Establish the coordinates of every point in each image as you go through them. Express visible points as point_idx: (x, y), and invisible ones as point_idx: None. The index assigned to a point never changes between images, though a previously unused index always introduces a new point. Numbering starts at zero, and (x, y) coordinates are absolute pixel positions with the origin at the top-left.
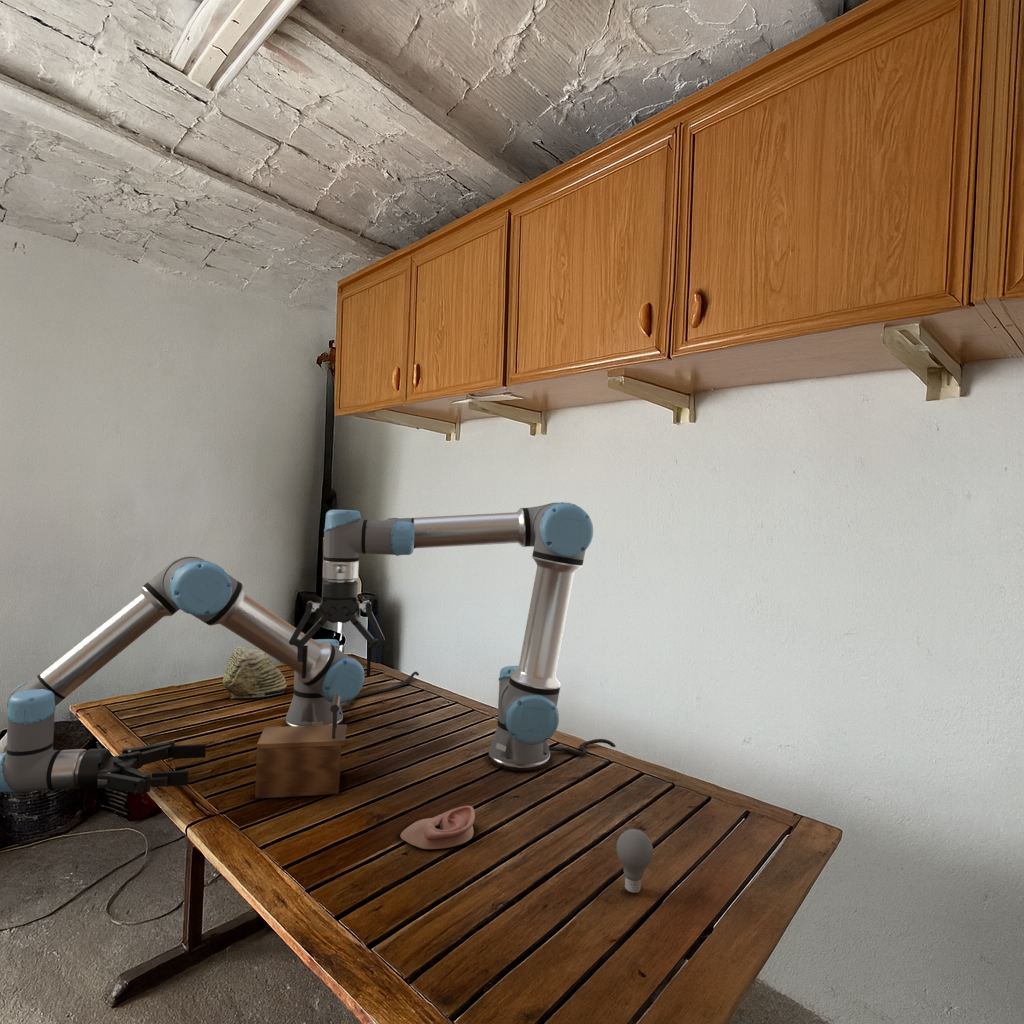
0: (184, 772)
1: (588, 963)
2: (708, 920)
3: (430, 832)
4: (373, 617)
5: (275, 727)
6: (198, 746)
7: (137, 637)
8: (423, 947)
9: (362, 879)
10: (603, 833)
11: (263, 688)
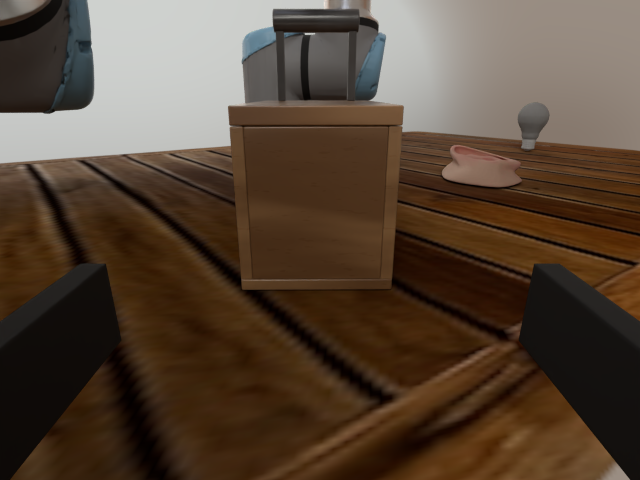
0: (571, 273)
1: (635, 160)
2: (544, 146)
3: (516, 161)
4: None
5: (244, 104)
6: (79, 290)
7: None
8: None
9: (625, 202)
10: (441, 150)
11: None
